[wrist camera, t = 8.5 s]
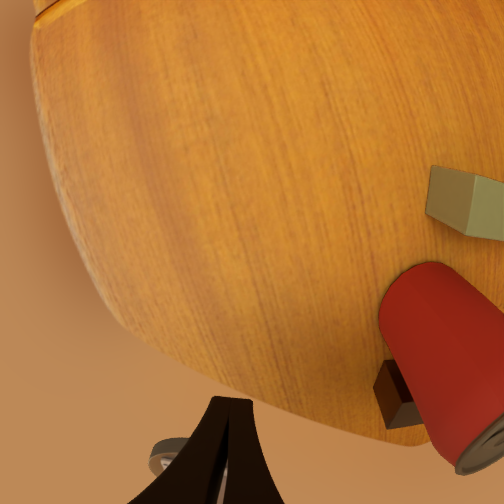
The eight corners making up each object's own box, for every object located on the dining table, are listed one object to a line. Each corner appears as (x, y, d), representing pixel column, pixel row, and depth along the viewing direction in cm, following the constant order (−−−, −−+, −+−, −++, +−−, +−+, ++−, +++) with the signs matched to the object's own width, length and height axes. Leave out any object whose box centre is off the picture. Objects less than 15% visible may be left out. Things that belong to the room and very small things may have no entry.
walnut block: (448, 378, 20) (468, 413, 16) (372, 387, 20) (386, 430, 16) (461, 353, 19) (485, 386, 15) (383, 360, 19) (402, 403, 15)
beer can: (397, 248, 16) (524, 384, 5) (469, 268, 16) (579, 371, 5) (360, 337, 18) (415, 494, 7) (432, 345, 19) (500, 466, 7)
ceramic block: (505, 227, 15) (544, 248, 11) (424, 213, 15) (465, 236, 11) (512, 187, 14) (554, 202, 10) (431, 164, 14) (476, 174, 10)
